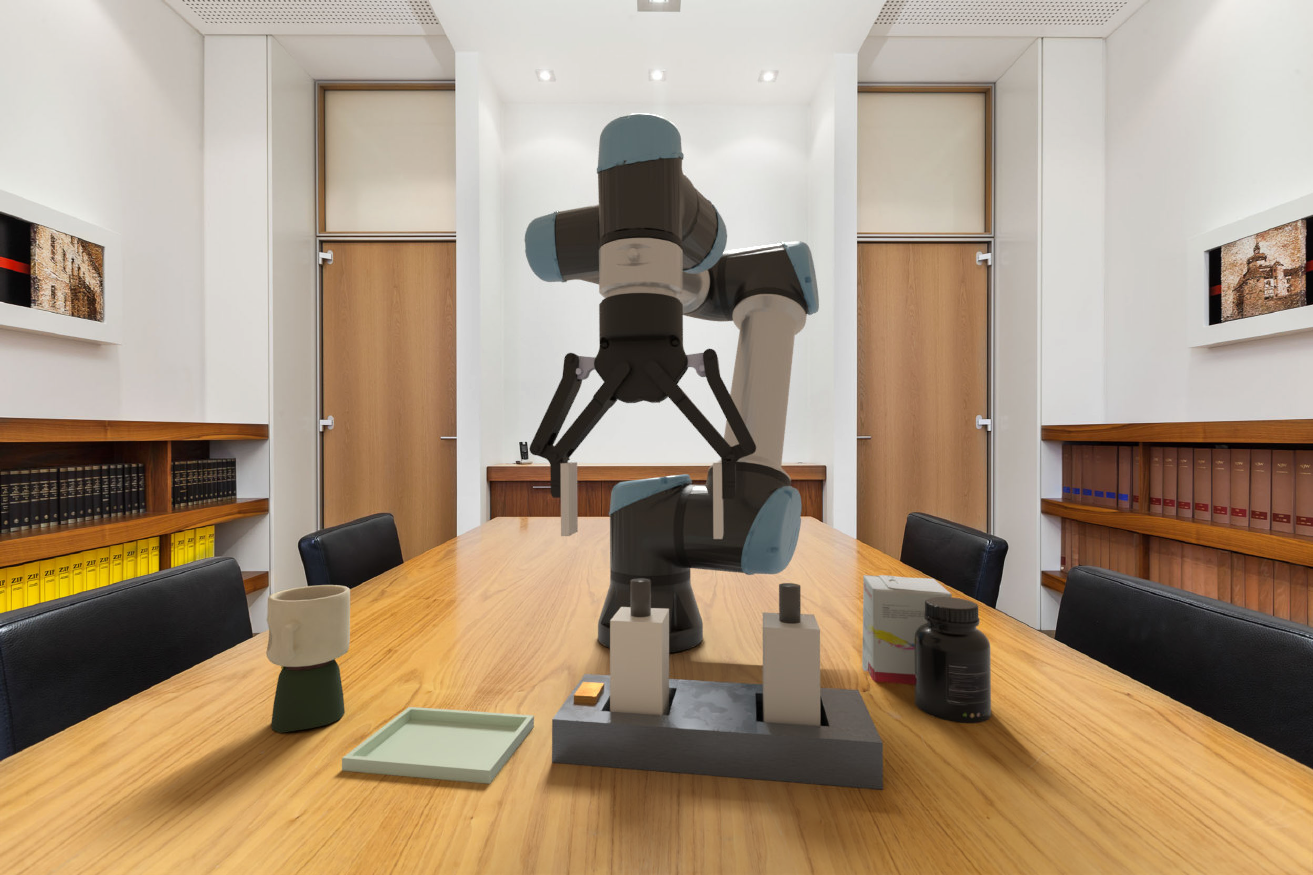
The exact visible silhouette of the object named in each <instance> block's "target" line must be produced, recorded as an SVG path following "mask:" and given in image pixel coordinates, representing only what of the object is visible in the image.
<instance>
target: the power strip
mask: <svg viewBox="0 0 1313 875" xmlns="http://www.w3.org/2000/svg"><path fill="white" fill-rule="evenodd" d="M568 695H569V696H567V698H566V699H565V701H564V702H563V703H562V705H561V707H560V708H559V709H558V710H557V712H556V713H555V715H554V716H553V717H552V718H551V735H552V736H551V763H552V764H560V765H562V764H563V765H572V766H573V765H574V766H588V767H598V768H599V767H600V768H611V769H622V770H623V769H625V770H633V771H635V770H636V771H646V772H658V773H660V772H661V773H670V774H671V773H672V774H673V773H674V774H682V775H683V774H685V775H695V776H697V775H698V776H708V777H709V776H710V777H721V778H733V779H745V780H755V781H757V780H758V781H769V782H782V783H794V784H807V785H818V786H827V787H828V786H830V787H842V788H853V789H863V790H864V789H865V790H867V789H868V790H876V791H883V790H884V769H883V768H884V764H883V763H884V762H883V760H884V758H883V757H884V753H883V752H884V749H883V748H884V747H883V746H884V745H883V740H882V738H881V736H880V734H879V732H878V730H877V727H876V725H875V723H874V721H873V719H872V717H871V714H870V712H869V709H868V708H867V706H866V704H865V702H864V699H863V697H862V695H861V693H860V690H859V689H850V688H849V689H848V688H831V687H820V726H814V725H799V724H784V723H770V722H763V683H762V684H761V683H760V684H759V683H745V682H744V683H743V682H729V681H728V682H727V681H714V680H713V681H712V680H711V681H710V680H698V679H697V680H693V679H692V680H691V679H680V678H679V679H675V678H669V716H667V715H652V714H637V713H623V712H610V674H609V675H608V674H592V673H591V674H590V673H585V674H583V676H582V678H580V680H579V682H578V683H577V684H576V686H575V687H574V688H573V689H572V691H571V692H570V694H568Z"/></svg>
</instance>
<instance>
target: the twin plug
mask: <svg viewBox="0 0 1313 875" xmlns="http://www.w3.org/2000/svg"><path fill="white" fill-rule="evenodd" d="M801 601H802V600H801V585H800V584H798V583H791V582H786V583H785V582H784V583H779V584H778V609H779V610H778V612H764V611H763V612H762V684H763V722H770V723H784V724H799V725H814V726H820V688H821V629H820V626H819V624H818V621H817V619H816V616H815V614H812V613H811V614H810V613H801V608H802V607H801V606H802V605H801Z"/></svg>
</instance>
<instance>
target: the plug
mask: <svg viewBox="0 0 1313 875" xmlns="http://www.w3.org/2000/svg"><path fill="white" fill-rule="evenodd" d="M609 675H610V712H623V713H637V714H652V715H667V716H669V679H670V653H669V609H662V608H651V580H649V579H644V578H638V579H632V580H631V607H621V608H620V609H619V610H618V611H617V613H616V614H615V615H614V616H613V618H612V619H611V620H610V648H609Z"/></svg>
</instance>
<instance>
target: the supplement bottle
mask: <svg viewBox="0 0 1313 875" xmlns="http://www.w3.org/2000/svg"><path fill="white" fill-rule="evenodd" d="M924 618H925V620H927V623H925V624H923V625H921V626H920V627H919V628H918V629H917V631H916V632H915V639H914V646H915V684H914V704H915V706H916V707H917V708H918V710H920V711H921V712H923V713H925V714H927V715H928V716H931V717H934V718H935V719H939V720H944V721H947V722H952V723H958V724H979V723H985V722H987V721H989V719H990V718H991V717H992V697H991V696H992V692H991V691H992V690H991V689H992V685H991V684H992V683H991V679H992V678H991V675H992V674H991V669H992V668H991V667H992V666H991V642H990V641H989V639H988V637H987V636H986V634H984V633H983V631H981V630H980V629H978V628H977V627H978V626H979V625H980V622H981V620H980V617H979V606H978V604H977V603H976V602H974V601H971V600H968V599H964V598H960V597H953V596H952V597H931V598H927V599H926V600H925V613H924Z"/></svg>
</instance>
